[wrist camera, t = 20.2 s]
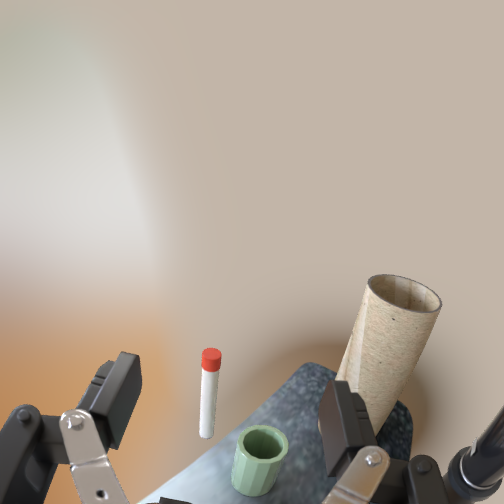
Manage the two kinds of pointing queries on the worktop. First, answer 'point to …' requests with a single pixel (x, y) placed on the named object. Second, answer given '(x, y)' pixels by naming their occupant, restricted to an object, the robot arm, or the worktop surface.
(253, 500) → the worktop surface
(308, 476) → the worktop surface
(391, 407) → the tube
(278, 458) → the green pencil holder
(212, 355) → the marker
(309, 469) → the worktop surface
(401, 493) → the robot arm
